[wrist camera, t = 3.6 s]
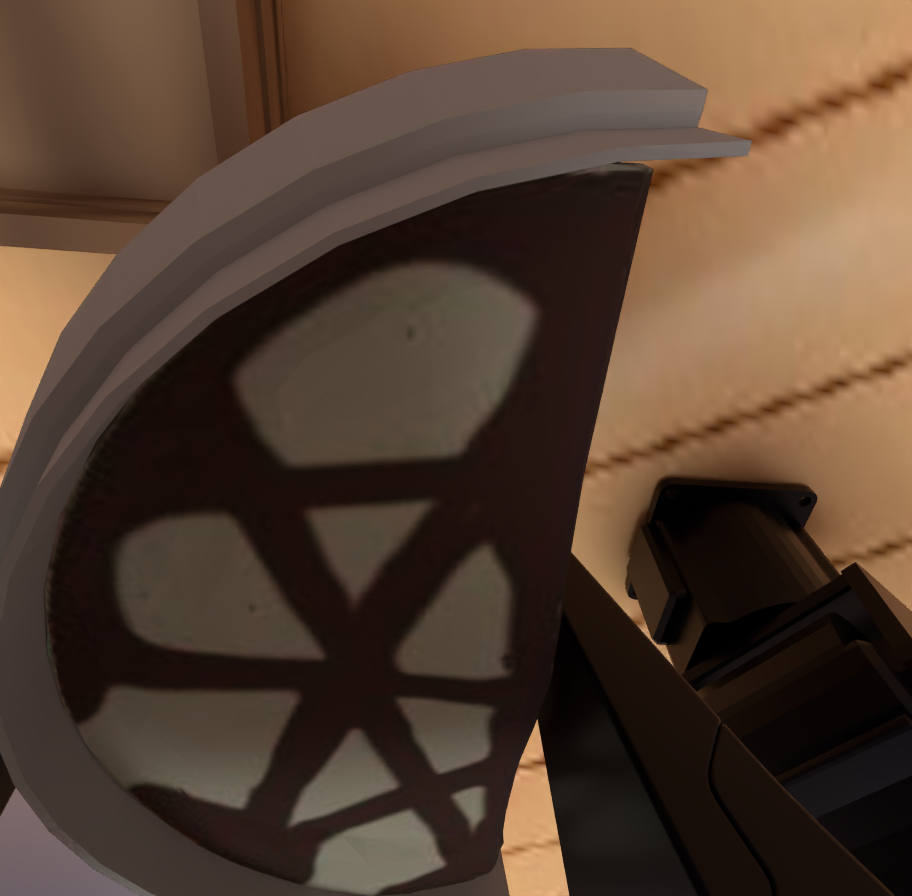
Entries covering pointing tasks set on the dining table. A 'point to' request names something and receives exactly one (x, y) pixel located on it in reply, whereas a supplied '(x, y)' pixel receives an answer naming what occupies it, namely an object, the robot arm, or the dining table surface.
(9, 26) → the tray
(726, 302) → the dining table surface
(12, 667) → the food container
